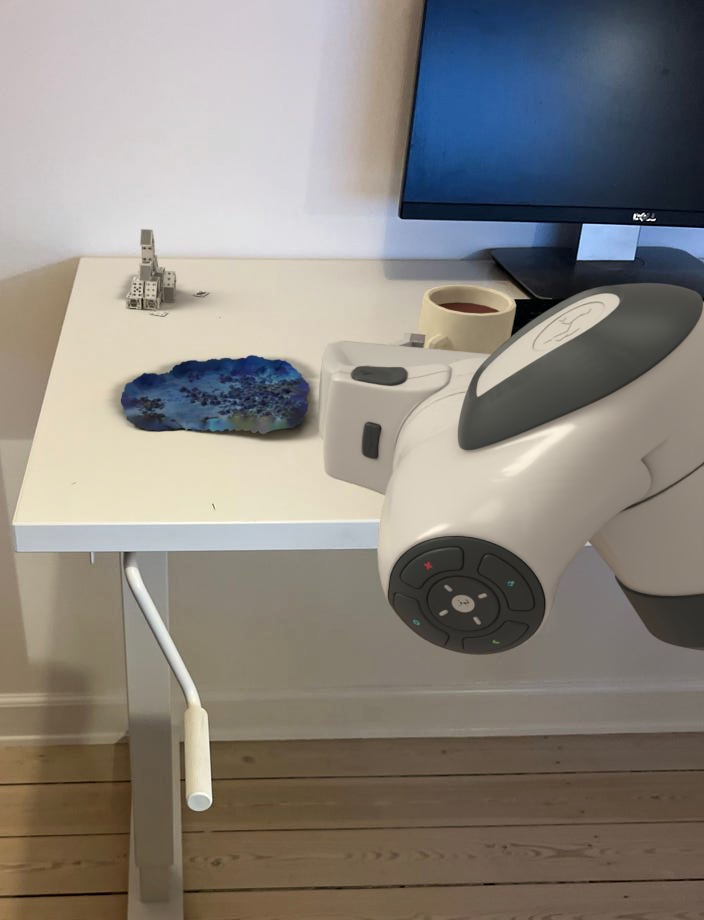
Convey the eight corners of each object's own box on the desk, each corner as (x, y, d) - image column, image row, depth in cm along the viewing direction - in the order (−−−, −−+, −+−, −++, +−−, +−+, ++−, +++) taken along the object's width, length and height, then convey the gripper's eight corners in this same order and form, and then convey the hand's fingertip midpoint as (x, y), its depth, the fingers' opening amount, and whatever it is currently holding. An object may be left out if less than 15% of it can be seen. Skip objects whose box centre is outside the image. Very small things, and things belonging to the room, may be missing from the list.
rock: (307, 439, 86) (308, 418, 85) (113, 432, 87) (111, 411, 86) (310, 375, 98) (311, 356, 97) (138, 369, 99) (137, 350, 98)
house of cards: (199, 318, 109) (199, 246, 105) (121, 314, 110) (118, 242, 105) (209, 291, 116) (210, 222, 112) (136, 287, 117) (134, 219, 112)
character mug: (440, 419, 89) (464, 272, 81) (512, 443, 86) (544, 292, 78) (373, 461, 83) (391, 306, 75) (447, 489, 79) (475, 329, 71)
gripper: (687, 410, 52) (660, 317, 63) (304, 372, 56) (339, 291, 66) (655, 514, 56) (634, 410, 67) (298, 472, 60) (332, 380, 70)
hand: (484, 350), depth 67 cm, fingers open, 8 cm apart
